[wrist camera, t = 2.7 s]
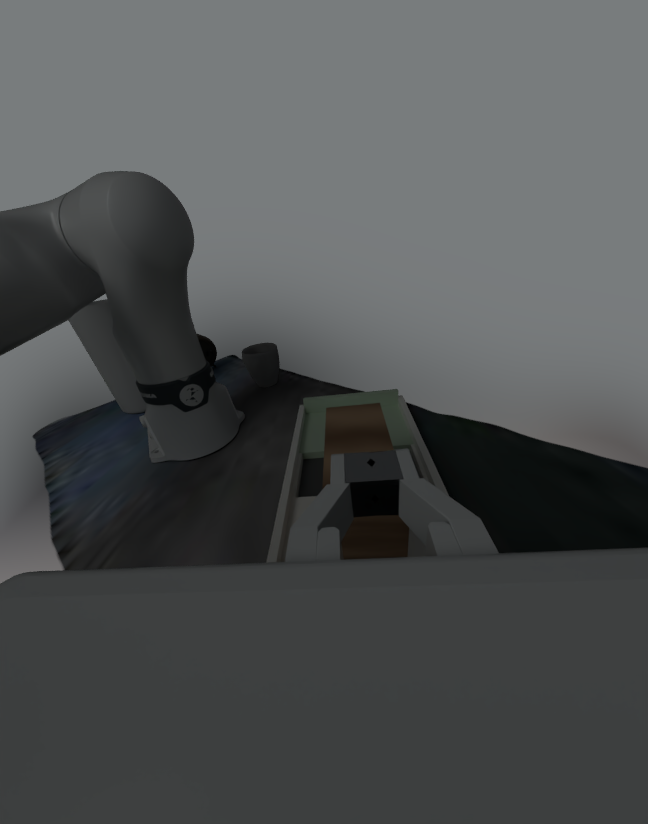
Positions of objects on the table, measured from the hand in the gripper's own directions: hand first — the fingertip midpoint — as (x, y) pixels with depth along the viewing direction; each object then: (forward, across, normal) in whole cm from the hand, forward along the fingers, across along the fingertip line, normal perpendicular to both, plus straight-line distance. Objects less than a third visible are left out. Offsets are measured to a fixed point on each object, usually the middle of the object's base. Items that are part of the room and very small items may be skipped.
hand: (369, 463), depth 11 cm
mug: (+58, -23, -22) cm, 66 cm away
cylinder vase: (+52, -53, -21) cm, 77 cm away
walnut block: (+11, 0, -20) cm, 23 cm away
